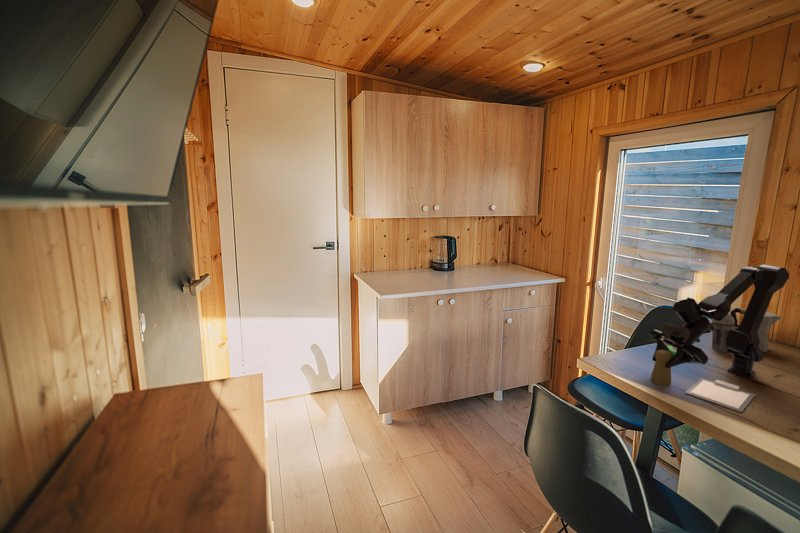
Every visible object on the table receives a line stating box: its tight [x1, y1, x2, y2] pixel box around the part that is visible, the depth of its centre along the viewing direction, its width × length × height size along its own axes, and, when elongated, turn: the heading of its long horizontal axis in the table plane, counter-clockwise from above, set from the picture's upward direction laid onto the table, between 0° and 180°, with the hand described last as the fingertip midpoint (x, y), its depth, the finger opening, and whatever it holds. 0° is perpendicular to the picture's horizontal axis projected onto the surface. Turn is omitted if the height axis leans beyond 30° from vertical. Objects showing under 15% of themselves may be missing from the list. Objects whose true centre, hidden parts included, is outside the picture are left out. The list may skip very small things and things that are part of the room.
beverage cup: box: [711, 313, 735, 353], centre depth 155 cm, size 7×7×20 cm
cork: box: [649, 350, 673, 387], centre depth 130 cm, size 6×6×11 cm
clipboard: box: [684, 377, 756, 414], centre depth 123 cm, size 16×14×1 cm
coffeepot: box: [729, 307, 783, 353], centre depth 158 cm, size 15×9×18 cm, turn 45°
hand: (659, 363), depth 130 cm, fingers closed on cork, 5 cm apart
